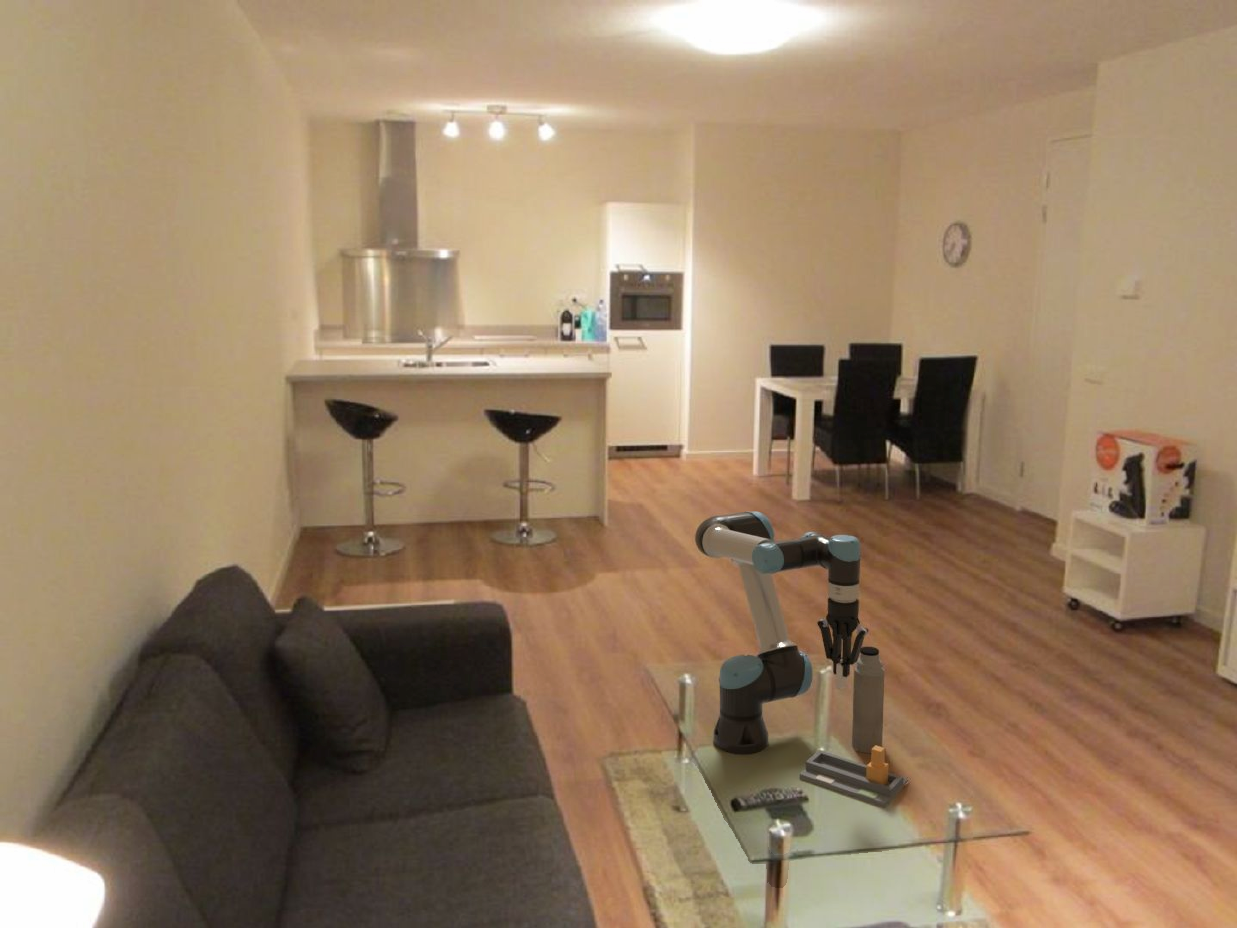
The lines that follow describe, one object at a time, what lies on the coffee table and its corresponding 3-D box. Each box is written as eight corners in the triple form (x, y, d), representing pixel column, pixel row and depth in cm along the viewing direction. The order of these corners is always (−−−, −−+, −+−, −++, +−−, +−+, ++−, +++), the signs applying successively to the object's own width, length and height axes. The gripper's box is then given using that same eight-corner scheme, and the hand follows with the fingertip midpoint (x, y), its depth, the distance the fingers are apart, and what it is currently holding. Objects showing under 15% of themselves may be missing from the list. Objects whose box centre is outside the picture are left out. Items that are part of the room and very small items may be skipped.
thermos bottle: (881, 739, 262) (884, 644, 256) (883, 754, 254) (886, 655, 249) (851, 737, 263) (853, 642, 258) (852, 751, 256) (855, 654, 250)
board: (799, 778, 243) (799, 766, 242) (824, 756, 254) (825, 745, 253) (884, 807, 229) (885, 795, 228) (907, 783, 239) (908, 771, 239)
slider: (866, 783, 237) (867, 749, 235) (872, 777, 240) (874, 742, 238) (881, 788, 234) (882, 753, 232) (887, 782, 237) (889, 747, 235)
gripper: (812, 597, 235) (810, 685, 240) (861, 607, 227) (858, 699, 232) (826, 589, 241) (824, 675, 246) (874, 598, 233) (871, 688, 238)
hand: (841, 687), depth 239 cm, fingers closed
